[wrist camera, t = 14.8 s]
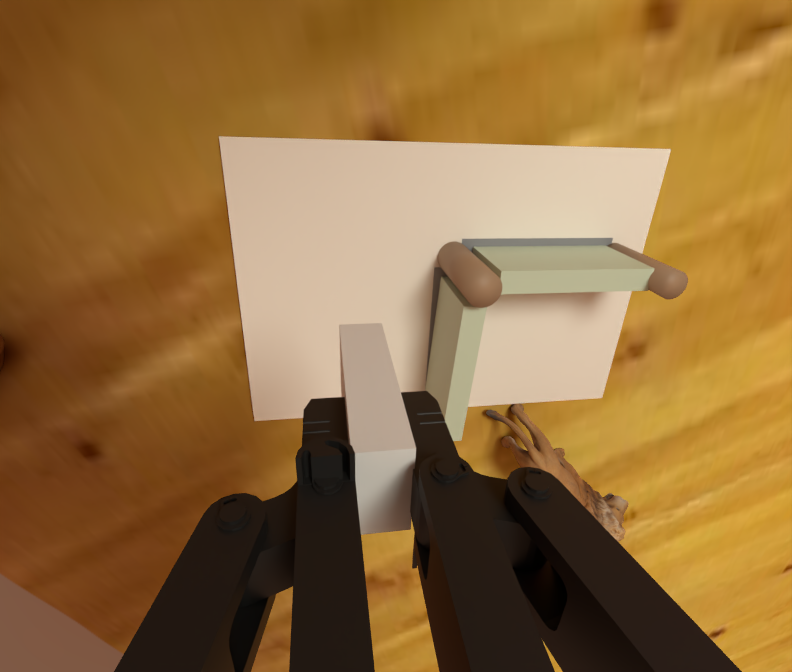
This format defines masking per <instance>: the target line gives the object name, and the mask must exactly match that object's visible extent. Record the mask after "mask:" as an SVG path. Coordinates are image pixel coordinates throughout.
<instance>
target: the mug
mask: <svg viewBox="0 0 792 672" xmlns="http://www.w3.org/2000/svg"><path fill="white" fill-rule="evenodd" d="M3 349H4V339H3V337H2V335H0V371H1V369H2V366H3V362H4V350H3Z"/></svg>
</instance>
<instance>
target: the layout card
mask: <svg viewBox="0 0 792 672" xmlns="http://www.w3.org/2000/svg"><path fill="white" fill-rule="evenodd" d="M219 142H220V150H221V158H222V166H223V174H224V182H225V190H226V198H227V206H228V214H229V222H230V230H231V238H232V246H233V254H234V262H235V270H236V278H237V286H238V294H239V302H240V310H241V318H242V326H243V334H244V342H245V350H246V358H247V366H248V374H249V382H250V391H251V399H252V407H253V415H254V421H263V420H278V419H293V418H303V413H304V409H305V407H306V406H307V404H308V403H309V401H310V400H311V399H317V398H333V397H342V395H341V369H340V332H339V325H342V324H369V323H382V326H383V330H384V334H385V337H386V341H387V344H388V348H389V352H390V355H391V359H392V362H393V366H394V370H395V373H396V377H397V381H398V384H399V388H400V391H401V392H416V391H425V387H426V380H427V373H428V366H429V358H430V351H431V344H432V337H433V330H434V323H435V316H436V309H437V302H438V295H439V288H440V281H441V277H448V276H447V274H446V273H445V272H444V271H443V269H442V268H441V267H440V266H439V263H438V253H439V251H440V249H441V248H442V247H443V246H444V245H445V244H447V243H449V242H453V241H456V242H460V243H462V244H463V245H464V246H465V247H467V248H468V249H469V250H470V251H471V252H473V247H487V246H598V245H606V246H608V245H609V244H612V243H619V244H621V245H623V246H625V247H628V248H630V249H632V250H634V251H637V252H639V253H641V254H642V252H643V249H644V245H645V241H646V238H647V234H648V231H649V227H650V223H651V220H652V216H653V213H654V209H655V205H656V202H657V198H658V195H659V191H660V187H661V184H662V180H663V177H664V173H665V169H666V166H667V162H668V159H669V155H670V151H671V149H652V148H616V147H581V146H546V145H510V144H475V143H439V142H404V141H369V140H333V139H298V138H262V137H227V136H219ZM631 292H632V291H612V292H575V293H537V294H501V295H500V297H499V299H498V300H497V301H496V302H495V303H494V304H492V305H490V306H488V307H487V310H486V315H485V320H484V325H483V331H482V336H481V341H480V346H479V351H478V357H477V362H476V367H475V372H474V377H473V383H472V388H471V393H470V398H469V403H468V407H473V406H488V405H503V404H518V403H532V402H547V401H562V400H577V399H592V398H602V396H603V393H604V389H605V385H606V382H607V378H608V375H609V371H610V367H611V364H612V360H613V357H614V353H615V349H616V346H617V342H618V339H619V335H620V331H621V328H622V324H623V321H624V317H625V313H626V310H627V306H628V303H629V299H630V295H631Z"/></svg>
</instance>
